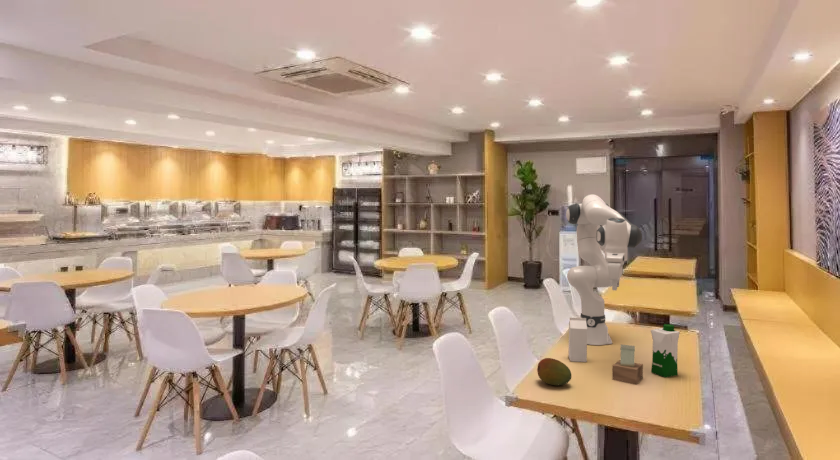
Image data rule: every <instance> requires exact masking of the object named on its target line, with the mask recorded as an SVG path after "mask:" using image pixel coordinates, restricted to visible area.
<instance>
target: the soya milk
mask: <svg viewBox="0 0 840 460" xmlns="http://www.w3.org/2000/svg"><path fill="white" fill-rule="evenodd" d="M650 334H651V336H652V337H651V338H652V357H651V358H652V361H651V368H650V369H651V371H650V372H651V373H652V374H654V375H657V376H659V377H663V378H669V377H676V376H678V375H679V374H678V373H679V372H678V350H679V349H678V347H679V346H678V343H679V338H680V334H681V333H680V331H677V330H675V325H674V324H671V323H670V324H669V323H664V324H663V327H659V328H654V329H650Z"/></svg>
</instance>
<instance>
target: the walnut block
mask: <svg viewBox="0 0 840 460" xmlns="http://www.w3.org/2000/svg"><path fill="white" fill-rule="evenodd" d="M643 373H644V364H643V363H639V362H634V367H630V366H621V359H619V360H617V361H616V362H615V363H614V364H612V376H611V379H612V380H613V381H617V382H621V383H626V384H632V385H638V384H639V382H641V381H642V380H643V378H644V374H643Z"/></svg>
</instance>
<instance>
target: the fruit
mask: <svg viewBox="0 0 840 460" xmlns="http://www.w3.org/2000/svg"><path fill="white" fill-rule="evenodd" d="M536 371H537V372H536V373H537V375H538V378H539V379H540V380H541V381H542V382H543V383H546V384H547V385H552V386H563V385H566V384H568V383H569V382H570V381H571V380H572V372H571V370H570V367H568V365H566V364H565V363H564V362H562V361H560V360H558V359H556V358H551V357H544V358H542V359H541V360H540V361H539V362H538V364H537V369H536Z"/></svg>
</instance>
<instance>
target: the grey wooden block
mask: <svg viewBox="0 0 840 460" xmlns="http://www.w3.org/2000/svg"><path fill="white" fill-rule="evenodd" d="M635 347H636V346H635V345H630V344H620V360H621V366H630V367H634V363H635V352H636V348H635Z"/></svg>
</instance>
